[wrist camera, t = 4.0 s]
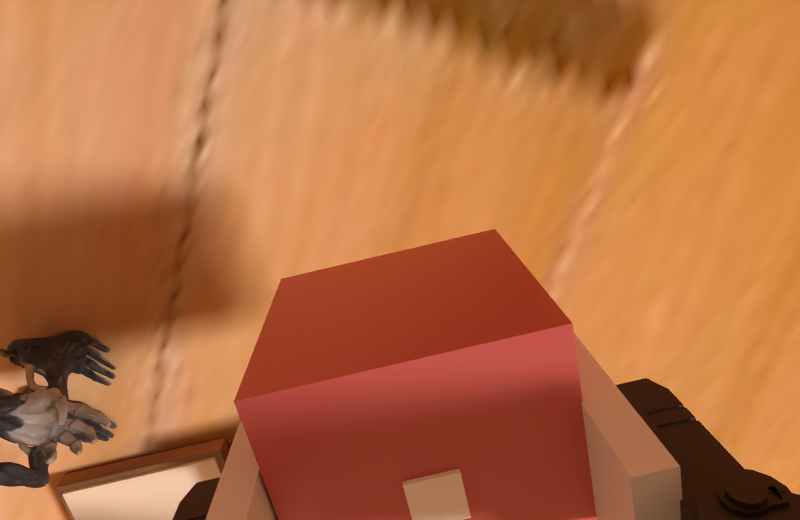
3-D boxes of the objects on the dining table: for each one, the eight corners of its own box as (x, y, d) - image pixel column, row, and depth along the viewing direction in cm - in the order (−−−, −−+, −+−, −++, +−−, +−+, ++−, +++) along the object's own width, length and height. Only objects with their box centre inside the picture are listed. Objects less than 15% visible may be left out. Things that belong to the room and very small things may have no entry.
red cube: (277, 279, 15) (226, 406, 10) (494, 229, 15) (574, 325, 10) (334, 458, 17) (320, 651, 12) (527, 414, 17) (608, 586, 12)
